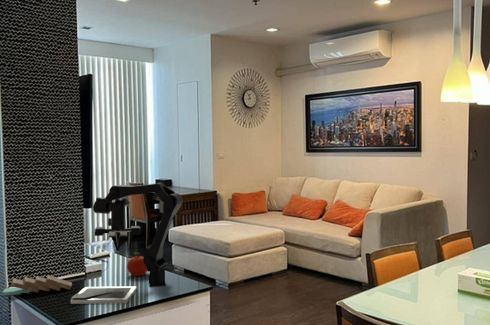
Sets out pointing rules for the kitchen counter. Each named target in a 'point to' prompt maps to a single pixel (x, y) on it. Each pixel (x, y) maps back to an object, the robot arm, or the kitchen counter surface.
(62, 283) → the domino
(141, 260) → the fruit
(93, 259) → the kitchen counter surface
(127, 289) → the picture frame
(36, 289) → the domino
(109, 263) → the kitchen counter surface
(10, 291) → the domino
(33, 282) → the domino
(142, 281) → the kitchen counter surface
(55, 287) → the domino
